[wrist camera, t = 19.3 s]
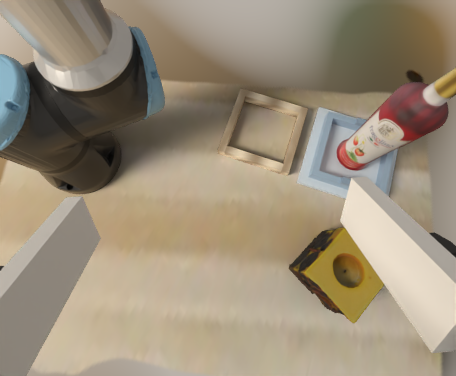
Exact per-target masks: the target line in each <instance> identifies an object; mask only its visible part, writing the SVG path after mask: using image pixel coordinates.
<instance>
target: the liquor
mask: <svg viewBox="0 0 456 376" xmlns="http://www.w3.org/2000/svg"><path fill="white" fill-rule="evenodd" d="M454 95H456V68H455V69H453V70H452V71H450V72H449V73H447V74H446V75H444V76H443V77H441V78H440V79H438V80H437V81H435V82H434V83H432V84H431V85H428V84H425V83H420V82H410V83H406V84H404V85H402V86H401V87H399V88H398V89H397V90H396V91H395V92H394V93H393V94H392V95H391V96H390V97H389V98H388V99H387V100H386V101H385V102H384V103H383V104H382V105H381V106H380V107H379V108H378V109H377V110H376V111H375V112H374V113H373V114H372V115H371V117H370V118H369V119H368V120H367V121H366V122H365V123H364V124H363V125H362V126H361V127H360V128H359V129H358V130H357V131H356V132H355V133H354V134H353V135H352V136H351V137H350V138H349V139H346V140H344V141H342V142H341V143H340V144H339V146H338V148H337V158H338V160H339V162H340V163H341V164H342V165H343V166H344V167H345V168H347V169H349V170H353V171H358V170H362V169H364V168H365V167H367V165H368V164H369V163H370V162H372V161H374V160H375V159H377V158H379V157H381V156H383V155H385V154H387V153H389V152H391V151H393V150H395V149H398V148H400V147H402V146H404V145H406V144H408V143H410V142H412V141H414V140H416V139H418V138H420V137H422V136H424V135H426V134H428V133H430V132H432V131H434V130H436V129H438V128H440V127H441V126H442V125H443V124H444V123H445V121H446V119H447V117H448V105H447V101H448V100H449V99H451V97H453V96H454Z"/></svg>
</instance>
